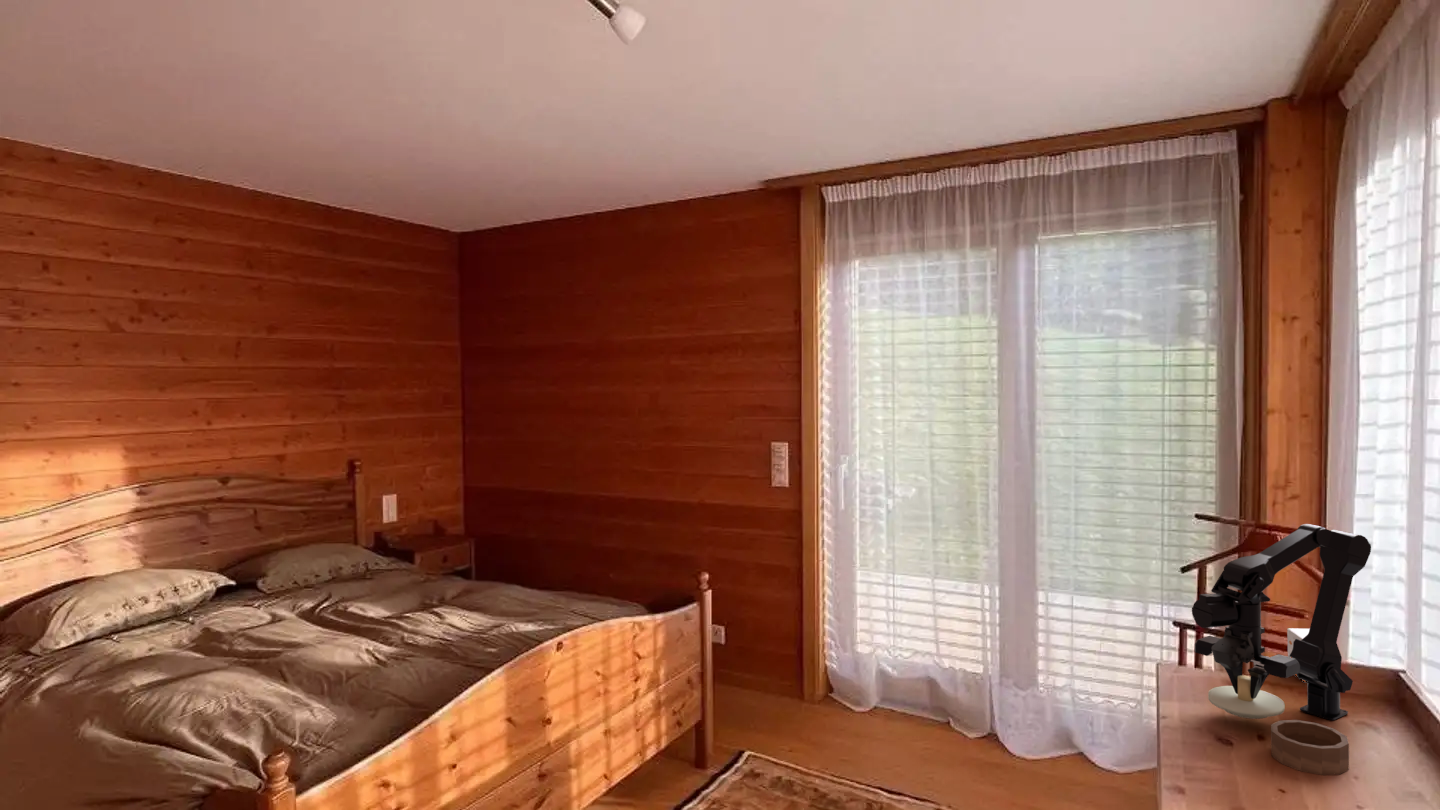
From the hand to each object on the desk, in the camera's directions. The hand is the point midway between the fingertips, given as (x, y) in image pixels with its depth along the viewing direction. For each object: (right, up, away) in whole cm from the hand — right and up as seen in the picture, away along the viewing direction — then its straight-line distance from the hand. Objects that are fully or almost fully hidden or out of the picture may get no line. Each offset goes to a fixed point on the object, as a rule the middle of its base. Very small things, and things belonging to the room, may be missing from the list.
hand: (1245, 695), depth 177 cm
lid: (0, -3, 0) cm, 3 cm away
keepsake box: (+2, -7, -16) cm, 17 cm away
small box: (+29, -4, +23) cm, 37 cm away
